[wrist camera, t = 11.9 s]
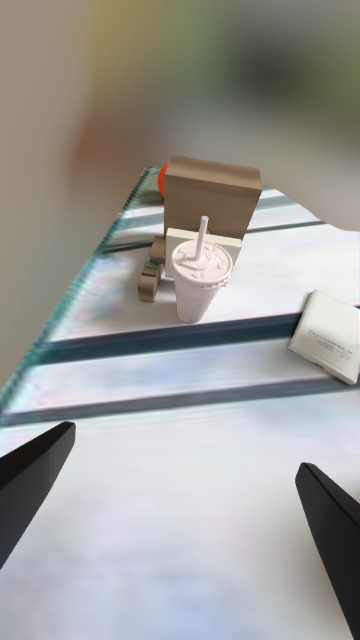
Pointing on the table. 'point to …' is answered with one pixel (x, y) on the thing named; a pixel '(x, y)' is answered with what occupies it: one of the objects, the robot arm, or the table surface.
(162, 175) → the clementine
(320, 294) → the external hard drive
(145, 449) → the table surface
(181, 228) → the brown blocky piece
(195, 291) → the smoothie
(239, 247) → the cream flat box
